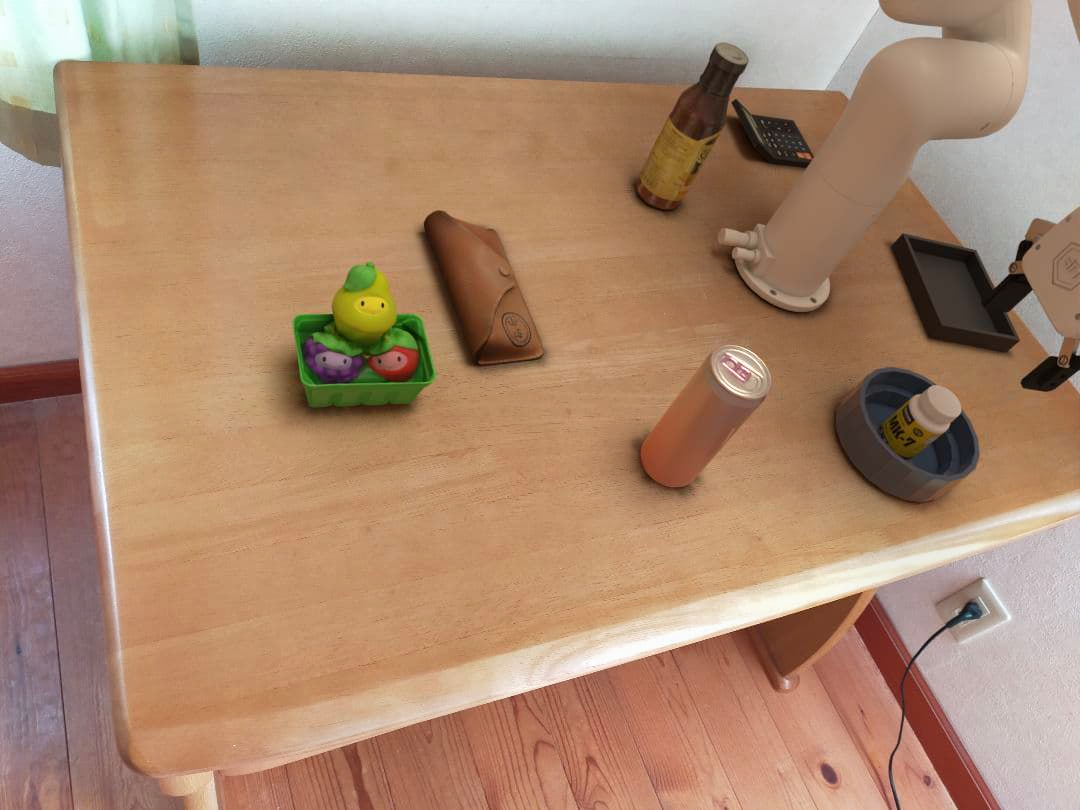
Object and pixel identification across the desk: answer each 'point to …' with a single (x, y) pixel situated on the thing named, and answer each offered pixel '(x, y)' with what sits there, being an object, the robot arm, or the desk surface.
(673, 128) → the sauce bottle
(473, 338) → the sunglasses case
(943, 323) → the tray
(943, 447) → the bowl
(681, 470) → the beverage can
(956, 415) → the supplement bottle
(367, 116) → the desk surface
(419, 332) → the fruit basket
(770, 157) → the calculator
